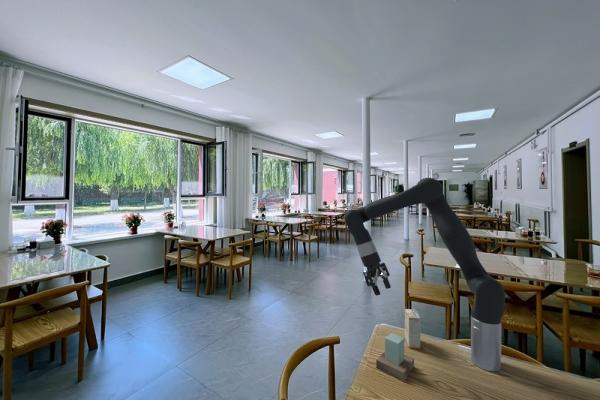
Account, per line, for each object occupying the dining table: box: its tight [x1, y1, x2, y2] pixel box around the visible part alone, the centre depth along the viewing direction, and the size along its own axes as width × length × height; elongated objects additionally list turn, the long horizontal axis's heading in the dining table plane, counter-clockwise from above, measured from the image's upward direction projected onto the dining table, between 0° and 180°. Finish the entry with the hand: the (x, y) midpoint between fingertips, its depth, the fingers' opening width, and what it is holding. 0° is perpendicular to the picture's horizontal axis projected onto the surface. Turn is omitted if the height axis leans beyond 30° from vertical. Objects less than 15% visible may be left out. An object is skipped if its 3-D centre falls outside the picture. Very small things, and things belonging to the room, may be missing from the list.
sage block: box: [384, 332, 405, 366], centre depth 95 cm, size 5×5×8 cm
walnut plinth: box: [375, 351, 415, 382], centre depth 95 cm, size 10×10×3 cm
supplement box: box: [404, 308, 421, 350], centre depth 110 cm, size 8×5×13 cm, turn 168°
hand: (383, 291), depth 105 cm, fingers open, 8 cm apart
